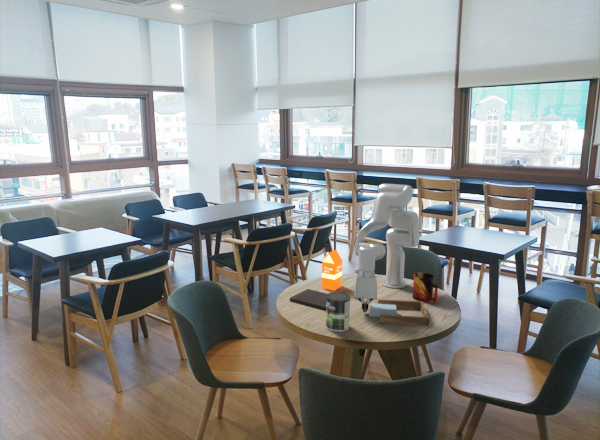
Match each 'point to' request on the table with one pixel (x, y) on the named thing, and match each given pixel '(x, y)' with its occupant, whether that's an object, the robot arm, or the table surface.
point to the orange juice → (332, 271)
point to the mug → (424, 287)
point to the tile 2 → (389, 309)
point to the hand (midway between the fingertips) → (364, 311)
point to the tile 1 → (375, 310)
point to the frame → (405, 319)
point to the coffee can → (337, 311)
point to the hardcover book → (311, 299)
